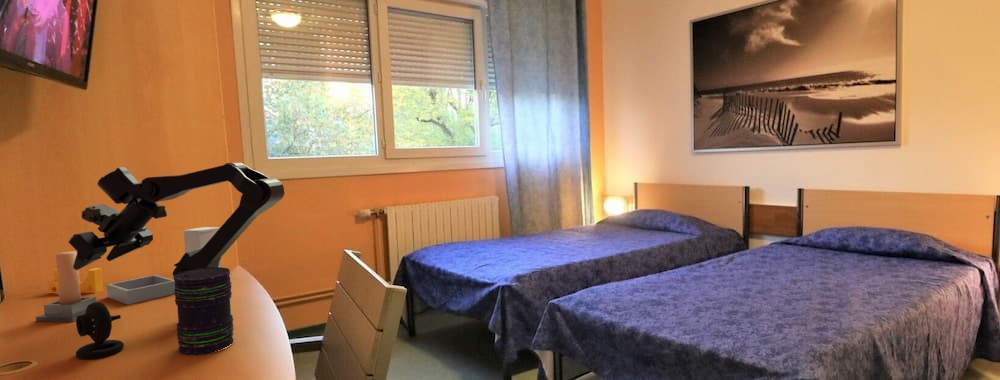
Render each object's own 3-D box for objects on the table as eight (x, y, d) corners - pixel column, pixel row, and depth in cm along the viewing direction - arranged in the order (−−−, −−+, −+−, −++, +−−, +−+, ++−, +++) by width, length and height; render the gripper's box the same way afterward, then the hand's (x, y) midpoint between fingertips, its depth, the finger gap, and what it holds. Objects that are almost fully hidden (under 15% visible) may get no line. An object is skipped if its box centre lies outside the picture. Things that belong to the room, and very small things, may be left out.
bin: (177, 293, 144) (176, 280, 144) (127, 304, 134) (126, 291, 134) (156, 286, 151) (155, 274, 150) (107, 297, 141) (106, 284, 140)
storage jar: (227, 333, 113) (223, 264, 112) (240, 346, 106) (236, 273, 104) (173, 345, 107) (168, 272, 105) (183, 360, 99) (178, 282, 98)
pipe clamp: (49, 294, 144) (47, 271, 144) (63, 290, 149) (61, 267, 148) (90, 295, 143) (88, 271, 143) (103, 290, 148) (101, 268, 147)
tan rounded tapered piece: (87, 308, 128) (83, 251, 127) (71, 314, 124) (67, 255, 122) (70, 308, 128) (66, 251, 127) (54, 313, 124) (49, 255, 123)
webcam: (69, 354, 102) (65, 304, 102) (114, 342, 109) (111, 294, 108) (84, 363, 98) (80, 311, 97) (130, 350, 104) (127, 300, 103)
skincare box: (201, 280, 158) (198, 230, 157) (185, 278, 160) (182, 229, 158) (223, 273, 166) (220, 226, 165) (207, 272, 168) (204, 225, 166)
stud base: (104, 309, 130) (103, 295, 130) (72, 321, 121) (71, 307, 121) (70, 308, 131) (69, 295, 130) (36, 321, 122) (34, 306, 121)
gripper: (139, 189, 132) (100, 233, 134) (73, 197, 113) (29, 247, 115) (170, 221, 132) (131, 264, 134) (110, 234, 113) (66, 283, 115)
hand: (92, 264), depth 124 cm, fingers open, 9 cm apart
